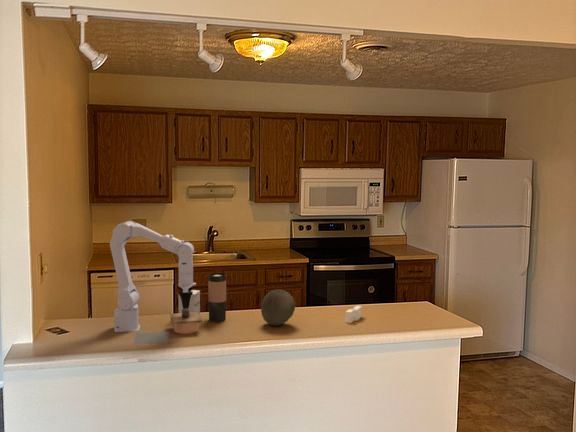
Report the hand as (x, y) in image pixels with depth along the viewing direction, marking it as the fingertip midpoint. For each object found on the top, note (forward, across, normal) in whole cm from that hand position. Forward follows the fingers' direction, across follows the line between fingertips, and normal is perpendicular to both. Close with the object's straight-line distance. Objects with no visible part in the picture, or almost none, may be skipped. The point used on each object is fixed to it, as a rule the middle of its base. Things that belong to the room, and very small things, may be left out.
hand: (186, 305), depth 218 cm
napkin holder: (+11, +6, -72) cm, 73 cm away
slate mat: (+10, -8, +13) cm, 18 cm away
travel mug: (+11, +14, -13) cm, 22 cm away
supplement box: (+11, +15, -1) cm, 18 cm away
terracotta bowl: (+10, 0, 0) cm, 10 cm away
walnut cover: (+5, 0, 0) cm, 5 cm away
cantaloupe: (+10, +3, -38) cm, 40 cm away
